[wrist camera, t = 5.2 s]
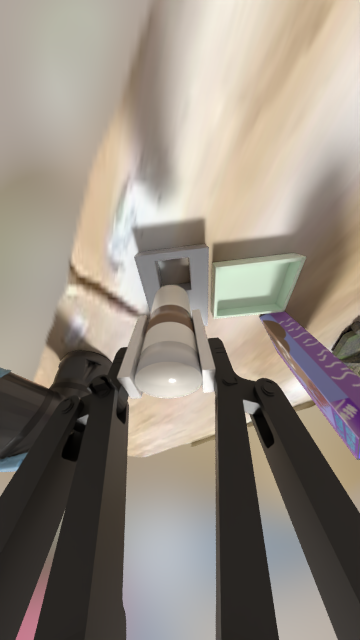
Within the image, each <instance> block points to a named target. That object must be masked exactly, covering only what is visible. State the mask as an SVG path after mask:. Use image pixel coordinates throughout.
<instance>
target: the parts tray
mask: <svg viewBox="0 0 360 640" xmlns="http://www.w3.org/2000/svg"><path fill="white" fill-rule="evenodd" d="M305 259H306V256H302V255H299V254H296V253H289V254H280V255H272V256H264V257H255V258H247V259H239V260H230V261H222V262H214V263H212V292H211V313H212V315H213V318H214V319H217V318H227V317H237V316H247V315H257V314H267V313H277V312H284V311H285V309H286V306H287V304H288V301H289V299H290V296H291V294H292V291H293V289H294V286H295V284H296V282H297V279H298V277H299V274H300V272H301V269H302V267H303V264H304V262H305Z"/></svg>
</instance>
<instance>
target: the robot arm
mask: <svg viewBox="0 0 360 640" xmlns="http://www.w3.org/2000/svg"><path fill="white" fill-rule="evenodd" d="M192 320H193V326H194V332H195V338H196V344H197V350H198V356H199V360H200V366H201V372H202V389H203V393H205V392H214V391H215V395H216V396H215V440H216V640H279V636H278V630H277V624H276V617H275V610H274V603H273V597H272V590H271V583H270V577H269V571H268V564H267V557H266V550H265V544H264V537H263V530H262V524H261V517H260V511H259V504H258V497H257V490H256V484H255V477H254V471H253V464H252V458H251V451H250V444H249V437H248V431H247V424H246V417H245V412H246V413H249V414H250V417H251V419H252V422H253V425H254V427H255V429H256V432H257V435H258V437H259V440H260V442H261V445H262V447H263V450H264V453H265V455H266V458H267V460H268V463H269V465H270V468H271V470H272V473H273V475H274V478H275V480H276V483H277V486H278V488H279V491H280V493H281V496H282V498H283V501H284V503H285V506H286V509H287V511H288V513H289V516H290V519H291V521H292V524H293V526H294V528H295V531H296V534H297V537H298V539H299V542H300V544H301V547H302V549H303V552H304V554H305V557H306V560H307V562H308V565H309V567H310V570H311V572H312V575H313V577H314V580H315V582H316V585H317V587H318V590H319V592H320V595H321V598H322V600H323V603H324V605H325V608H326V610H327V613H328V616H329V618H330V620H331V623H332V625H333V628H334V631H335V633H336V636H337V638H338V640H360V513H359V511H358V510H357V508H356V507H355V505H354V504H353V502H352V500H351V499H350V497H349V496H348V494H347V492H346V491H345V489H344V488H343V486H342V485H341V483H340V481H339V480H338V478H337V477H336V475H335V474H334V472H333V470H332V469H331V467H330V466H329V464H328V462H327V461H326V459H325V458H324V456H323V455H322V453H321V451H320V450H319V448H318V447H317V445H316V443H315V442H314V440H313V439H312V437H311V436H310V434H309V432H308V431H307V429H306V428H305V426H304V425H303V423H302V421H301V420H300V418H299V417H298V415H297V413H296V412H295V410H294V409H293V407H292V406H291V404H290V402H289V401H288V399H287V398H286V396H285V394H284V393H283V391H282V390H281V388H280V387H279V386H278V385H277V384H276V383H275V382H274V381H272V380H270V379H267V378H261V379H258V380H257V381H251V380H247V379H243V378H241V377H239V376H238V375H237V374H236V373H235V372H234V371H233V369H232V366H231V363H230V361H229V358H228V355H227V353H226V350H225V348H224V345H223V342H222V341H221V340H220V339H219V338H209V339H207V335H206V332H205V328H204V324H203V320H202V317H201V313H200V309H196V310H192ZM148 322H149V321H148V318H147V315H142V316H139V317H138V320H137V323H136V325H135V328H134V331H133V334H132V337H131V339H130V342H129V345H128V347H123V348H120V350H119V351H118V352H117V353H116V356H115V358H114V360H113V364H112V363H111V362H110V361H109V360H108V359H107V358H105V357H104V356H102V355H99V354H97V353H94V352H89V351H73V352H70V353H68V354H66V355H65V357H64V358H63V359H62V360H61V362H60V364H59V370H58V371H57V374H56V376H55V379H54V382H53V384H52V385H51V387H50V388H49V389H48V388H46V387H44V386H42V385H39V384H37V383H35V382H32V381H30V380H28V379H25V378H23V377H21V376H18V375H16V374H14V373H12V372H11V370H6V369H3V368H0V472H11V471H16V473H15V474H14V476H13V477H12V479H11V481H10V482H9V484H8V485H7V487H6V488H5V490H4V492H3V493H2V495H1V496H0V640H15V639H16V637H17V634H18V632H19V629H20V626H21V624H22V621H23V618H24V616H25V613H26V610H27V608H28V605H29V603H30V600H31V597H32V595H33V592H34V589H35V587H36V584H37V581H38V579H39V576H40V574H41V571H42V569H43V566H44V563H45V561H46V558H47V556H48V553H49V550H50V548H51V545H52V542H53V540H54V537H55V535H56V532H57V529H58V527H59V524H60V521H61V519H62V516H63V514H64V517H63V521H62V525H61V529H60V534H59V538H58V542H57V546H56V550H55V554H54V559H53V562H52V567H51V571H50V575H49V579H48V583H47V587H46V591H45V595H44V599H43V604H42V608H41V612H40V616H39V620H38V624H37V629H36V633H35V637H34V640H126V616H125V611H124V607H123V601H122V587H123V558H124V529H125V502H126V473H127V472H126V471H127V446H128V417H129V404H128V402H127V400H128V396H130V398H131V399H135V398H142V391H140V390H139V389H138V387H137V386H136V384H135V381H134V380H135V375H136V371H137V366H138V362H139V358H140V355H141V351H142V347H143V343H144V339H145V334H146V330H147V326H148ZM65 508H66V509H65ZM64 511H65V513H64Z"/></svg>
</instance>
